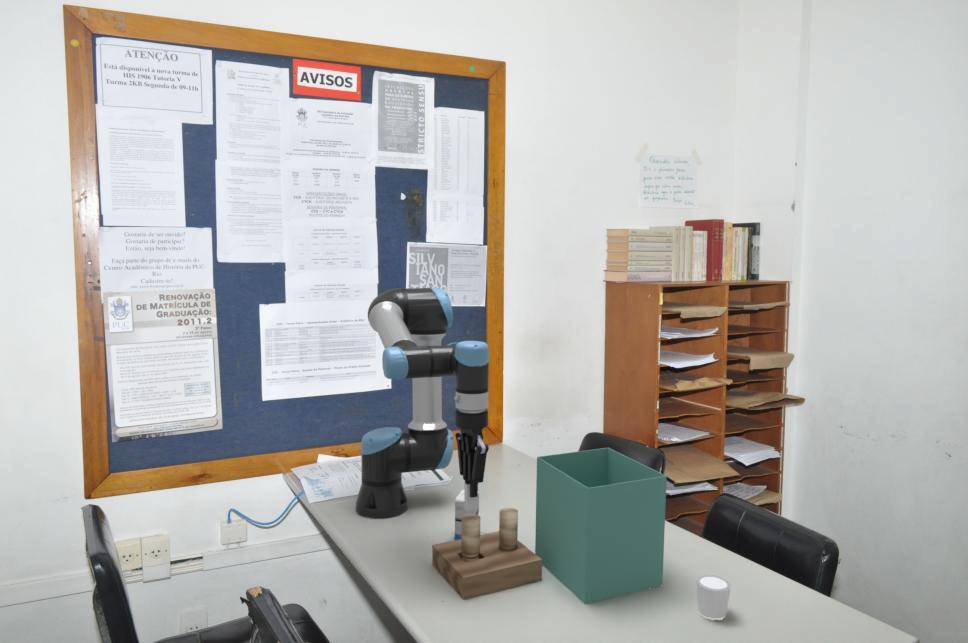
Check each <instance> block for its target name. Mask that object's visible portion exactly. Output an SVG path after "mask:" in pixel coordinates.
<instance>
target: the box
mask: <svg viewBox="0 0 968 643" xmlns="http://www.w3.org/2000/svg"><path fill="white" fill-rule="evenodd" d="M667 479H668V478H667V475H665V474H663V473H661V472H659V471H657V470H655V469H653V468H652V467H649V466H647V465H645V464H642V463H641V462H639V461H637V460H635V459H633V458H630V457H628V456H626V455H624V454H622V453H620V452H618V451H616V450H615V449H612V448H611V447H602V448H595V449H588V450H587V449H586V450H581V451H572V452H565V453H557V454H549V455H541V456H540V455H539V456H537V457H536V484H535V485H536V487H535V488H536V494H535V496H536V497H535V499H536V500H535V545H534V547H535V548H534V550H535V551H534V554H536V555H537V556H538V557H540V558H541V559H542V567H543V568H545V569H546V570H547V571H548V572H549V573H551V575H553V576H554V577H555V578H556V579H557V580H558V581H559V582H560V583H561V584H562V585H563V586H564V587H565V588H567V589H568V590H569V591H570V592H571V593H572V594H574V595H575V597H577V599H578V600H580V601H581V603H583V604H585V605H587V604H591V603H594V602H600V601H603V600H604V601H605V600H607V599H611V598H616V597H620V596H625V595H629V594H634V593H638V592H641V591H642V592H643V591H646V589H647V590H649V588H651V589H654V588H653V587H655V588H658V587H657V586H659V587H662V586H663V578H664V577H663V576H664V574H663V573H664V554H665V553H664V551H665V528H666V527H665V526H666V525H665V524H666V506H667V505H666V503H667V499H666V498H667ZM661 585H662V586H661Z"/></svg>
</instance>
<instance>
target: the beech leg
mask: <svg viewBox="0 0 968 643" xmlns="http://www.w3.org/2000/svg"><path fill="white" fill-rule="evenodd" d="M480 535H481V516H480V515H476V514H466V515H463V516H462V527H461V552H462V559H463V560H464V561H465V562H468V561H473V560H477V559H479V552H480Z"/></svg>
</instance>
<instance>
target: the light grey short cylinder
mask: <svg viewBox="0 0 968 643" xmlns="http://www.w3.org/2000/svg"><path fill="white" fill-rule="evenodd" d="M695 580H696V581H695V582H696V598H697V599H696V600H697V612H698V611H699V612H700V613H701V614H702V615H704V616H706V617H711V618H721V617H724V616H725V615H726V616H727V611H728V605H729V601H730V600H729V598H730V594H731V586H732V585H731V583H730V581H728V580H727V579H725V578H723V577H721V576H716V575H709V574H706V575H705V574H704V575H700V576H698V577H697V578H696V579H695Z"/></svg>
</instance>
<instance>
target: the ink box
mask: <svg viewBox="0 0 968 643" xmlns="http://www.w3.org/2000/svg"><path fill="white" fill-rule="evenodd" d="M464 491H465V489H462V490H461V491H460V492H459V494H457V496H456V497H455V499H454V540H459V539H461V527H462V516H463V515H466V514H476V515H479V514H480V510H479V509H480V507H479V506H480V491H479V490H478V509H475V510H470V511H467V510H465V509H464ZM479 516H480V515H479Z"/></svg>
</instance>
